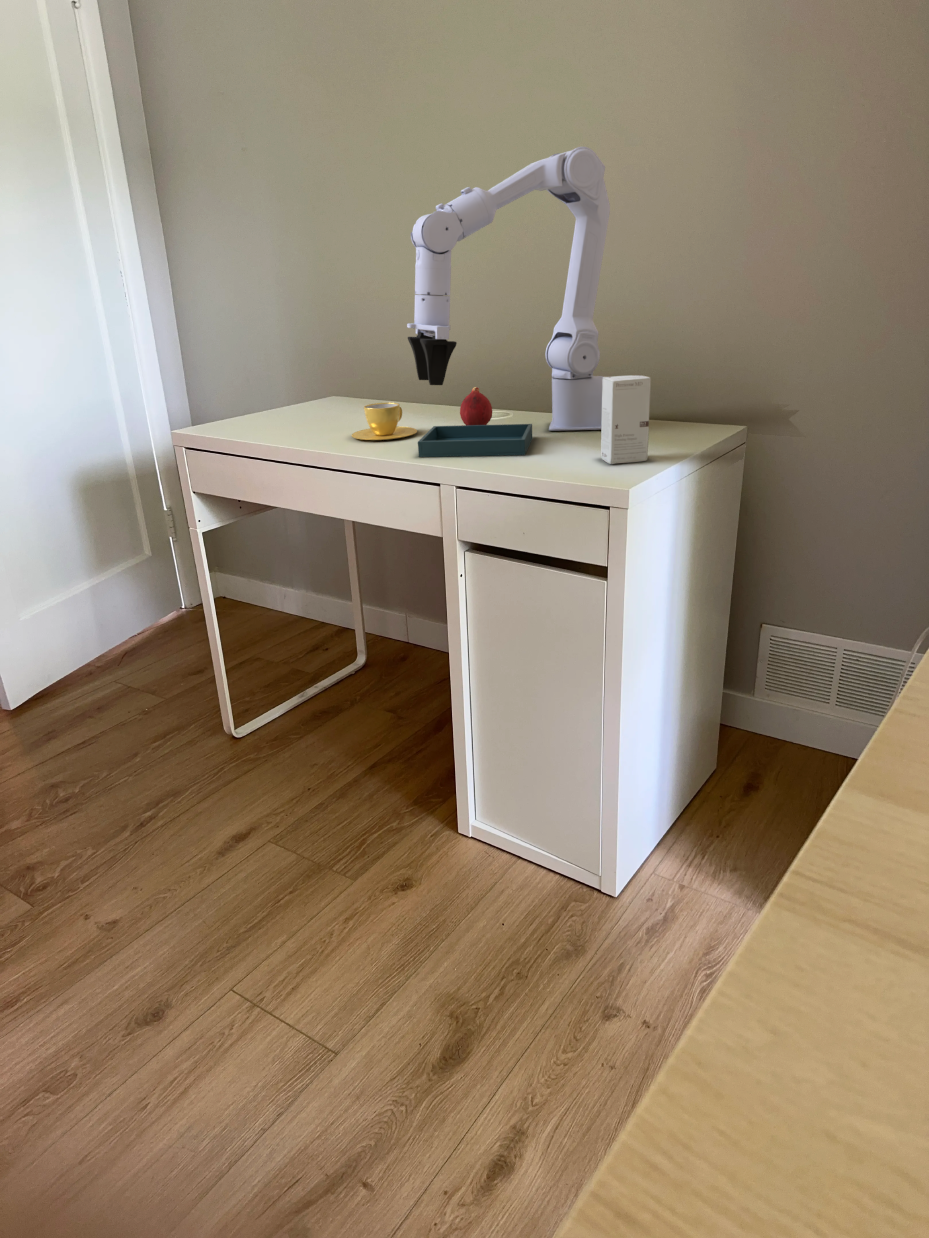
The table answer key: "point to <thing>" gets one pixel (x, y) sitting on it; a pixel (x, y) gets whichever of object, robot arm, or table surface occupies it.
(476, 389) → the onion
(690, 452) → the table surface
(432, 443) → the tray
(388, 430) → the cup
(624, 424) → the cosmetic box
